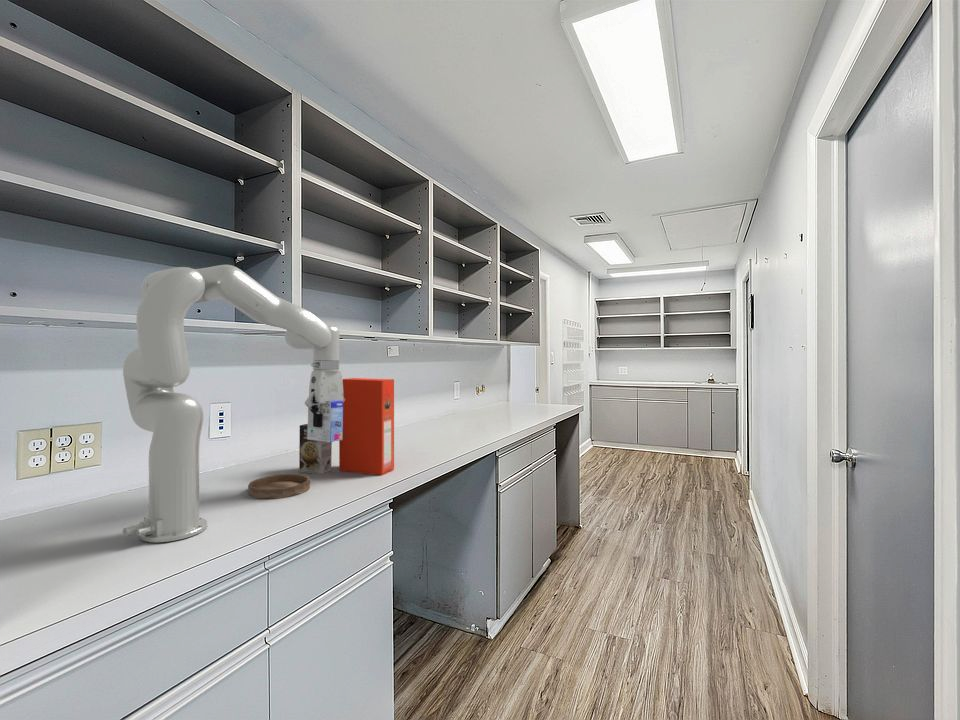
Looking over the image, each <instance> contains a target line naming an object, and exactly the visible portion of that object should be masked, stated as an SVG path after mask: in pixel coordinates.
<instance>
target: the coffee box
mask: <svg viewBox="0 0 960 720" xmlns="http://www.w3.org/2000/svg"><path fill="white" fill-rule="evenodd" d="M307 431H308V423H304V424H301V425H299V443H298V444H299V448H298V449H299V451H298V453H299V456H298V458H299V462H298V463H299V467H298V470H299V472H301V473H309V474H316V475H318V474H319V475H321V474H324V473H327V472H330V471H332V452H333V451H332V448H333V447H332V444H333V442H324V441H317V440H308V439H307Z"/></svg>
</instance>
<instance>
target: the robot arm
mask: <svg viewBox="0 0 960 720" xmlns="http://www.w3.org/2000/svg"><path fill="white" fill-rule="evenodd" d="M141 291H142V294H143V297H142V299H141V300H140V302H139V304H138V307H137V311H136V318H135V319H136V323H135V324H136V331H137V342H138V347H137V348H135V349H133V350H132V351H131V352H130V353H128V354H127V356H126V357H125V360H124V363H123V367H122V368H123V369H122V375H123V382H124V386H125V392H126V398H127V403H128V409H129V413H130V416H131V419H132V421H133V422H134V424H135V425H136V426H137V427H139V428H141V429H142V430H145V431H147V432H152V436H151V440H150V445H149V448H148V449H149V451H148V515H145V516H143V520H142V521H140V522H139V523H138V524H136V525H134V524H133V525H129V526H126V527H123V528H122V535H123V536H124V537H125V538H127V537H130V536H133V535H136V536H137V537H138V536H139V537H140V540H141V541H144V542H147V543H156V544H157V543H168V542H175V541H179V540H184V539H187V538H190V537H193V536H195V535H198V534H201V533H202V532H204V530H205V529H207V528H208V520H206V519H205V518H203V517H200V440H201V434H202V429H203V428H202V427H203V423H204V409H203V407H202V405H201V404H200V402H199V401H198V400H197V398H195V397H193V396H192V395H189V394H186V393H181V392H175V391H174V388H175V387H178V386H181V385H182V384H183V383H185V382H186V381H187V379H188V378H189V376H190V374H191V373H190V370H191V367H190V360H189V355H188V348H187V344H186V337H185V328H184V327H185V325H184V323H185V322H184V321H185V318H186V315H187V312H188V311H189V310H190V307H191V306H192V305H193V304H201V303H206V302H211V301H221V300H223V301H225V302H227V303H228V304H229V305H231V306H232V307H234V308H236V309H237V310H239V312H241V313H243V314H245V315H246V316H247V317H249V319H252V320H253V321H255V322H257V323H259V324H263V325H266V326H270V327H276V328H280V329H283V330H286V331H285V333H284V340H285V342H286V344H288V346H289V347H290V348H293V349H296V350H312V351H313V353H312V354H313V355H312V362H311V364H310V365H311V367H312V370H311V373H310V380H309V388H308V397H307V398H306V400H305V401H304V405H305V406H306V407H307V408H308V407H309V409H310V410H311V413H312V414H313V427H322V414H320V413H321V410H322V406H323V404H326V401H334V400H340V401H343V402H344V401H345V398H344V397H343V380H342V379H343V375H342V371H341V370H340V329H339V327H336V326H332V325H327V324H326V323H325V322H324V321H323V320H321V319H320V318H319V317H318V316H316V315H315V314H313V313H312V312H311V311H309V310H307V309H305V308H303V307H301V306H299V305H296V304H294V303H292V302H290V301H288V300H285V299H283V298H282V297H278V296H277V295H275V294H274V293H272V292H271V291H270V290H269V289H268V288H266V287H265V286H263V285H261V284H260V282H258V281H256V280H255V279H254V278H252V277H251V276H250V275H248V274H247V273H246V272H244V271H243V270H242V269H240V268H238V267H237V266H234V265H231V264H220V265H213V266H208V267H202V268H192V267H188V266H187V267H186V266H178V267H177V266H176V267H172V268H167V269H162V270H158V271H154V272H152V273H150V274H148V275H147V276H145V278H144V279H143V280H142V283H141ZM317 402H318V403H317ZM317 406H318V408H317Z"/></svg>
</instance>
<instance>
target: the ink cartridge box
mask: <svg viewBox="0 0 960 720" xmlns="http://www.w3.org/2000/svg"><path fill="white" fill-rule="evenodd" d="M317 403H318V402H317ZM317 408H318V406H317ZM320 414H322V427H313V414H312V413H311V410H310V409H309V407H307V424H308V431H307V439H308V440H317V441H324V442H332V443H333V442H339V441H340V440H343V401H340V400H334V401H326V404H323V406H322V410H321V413H320Z"/></svg>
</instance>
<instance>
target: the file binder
mask: <svg viewBox="0 0 960 720" xmlns="http://www.w3.org/2000/svg"><path fill="white" fill-rule="evenodd" d="M342 380H343V397H344V398H345V401H344V402H343V440H340V441H338V442H339V443H338V445H339V448H338V449H339V451H338V452H339V453H338V455H339V457H338V459H339V464H338V466H339V469H338V470H339V471H342V472H350V473H359V474H366V475H374V476H375V475H376V476H384V475H386V474H388V473H390V472H393V471H394V470H395V379H394V378H393V379H391V378H365V377H364V378H362V377H361V378H360V377H359V378H358V377H349V378H342Z"/></svg>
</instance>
